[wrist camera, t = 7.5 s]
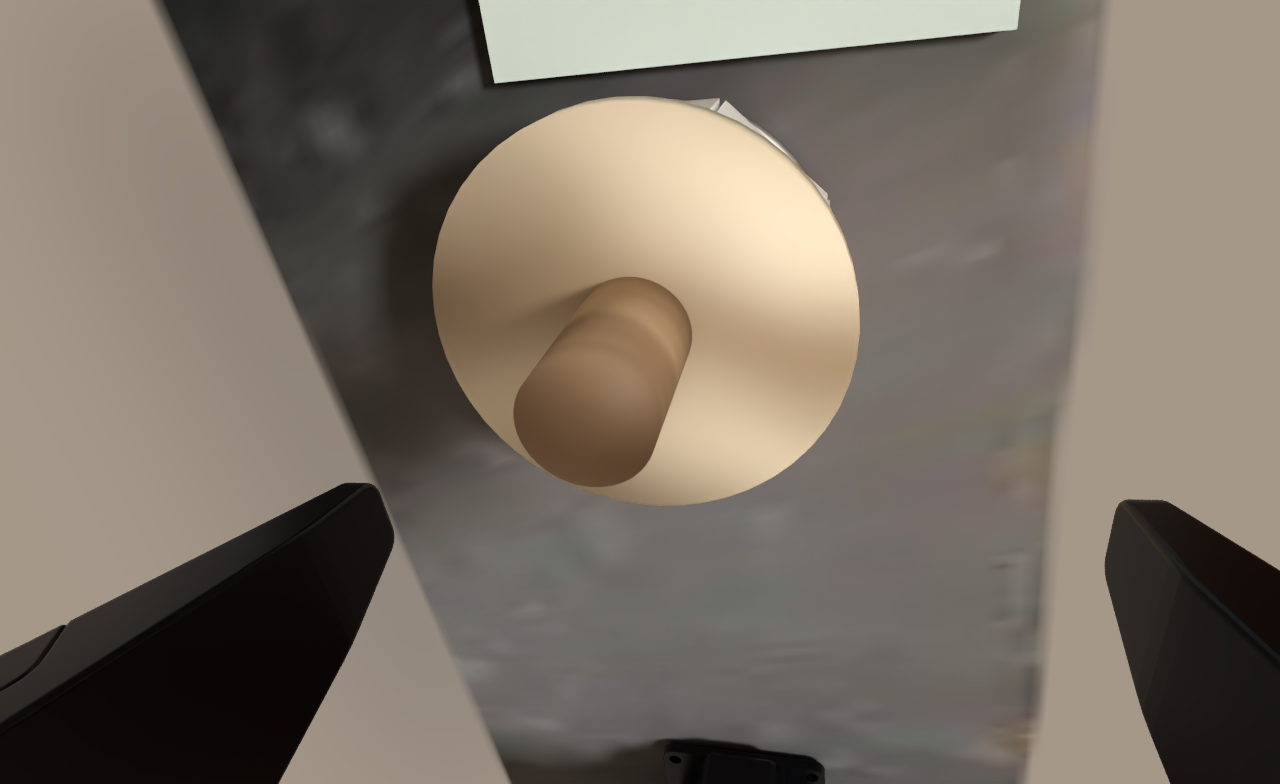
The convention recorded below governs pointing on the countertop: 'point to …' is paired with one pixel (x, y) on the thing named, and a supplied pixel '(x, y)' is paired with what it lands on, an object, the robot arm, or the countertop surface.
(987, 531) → the countertop surface
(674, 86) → the countertop surface
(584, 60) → the mat
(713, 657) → the countertop surface
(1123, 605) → the robot arm
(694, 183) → the lid
